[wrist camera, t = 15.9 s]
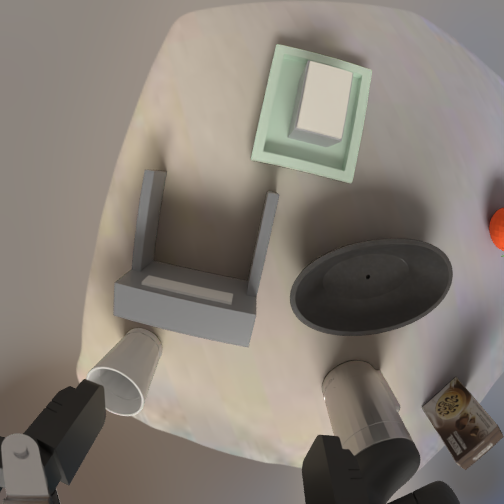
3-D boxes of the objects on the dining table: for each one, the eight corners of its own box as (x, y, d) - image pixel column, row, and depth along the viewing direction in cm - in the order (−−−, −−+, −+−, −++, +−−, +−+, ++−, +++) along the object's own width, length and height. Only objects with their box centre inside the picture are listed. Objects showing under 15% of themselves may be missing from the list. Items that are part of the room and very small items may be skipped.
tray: (366, 75, 34) (372, 70, 32) (346, 182, 38) (351, 183, 35) (275, 51, 34) (276, 44, 31) (251, 160, 37) (250, 159, 35)
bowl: (281, 238, 40) (285, 249, 34) (431, 223, 39) (454, 231, 33) (288, 323, 42) (293, 346, 36) (427, 302, 41) (447, 318, 35)
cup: (124, 364, 45) (95, 410, 33) (115, 321, 43) (79, 362, 31) (170, 369, 45) (149, 420, 33) (164, 324, 43) (136, 371, 31)
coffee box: (432, 418, 47) (464, 471, 32) (420, 407, 46) (454, 464, 31) (465, 388, 46) (504, 437, 30) (456, 375, 45) (498, 426, 29)
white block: (338, 85, 34) (355, 66, 27) (326, 147, 36) (342, 140, 29) (300, 75, 34) (309, 53, 26) (287, 137, 36) (294, 128, 28)
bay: (276, 192, 38) (283, 197, 28) (250, 309, 42) (248, 347, 32) (158, 170, 38) (127, 169, 28) (142, 285, 41) (113, 315, 32)
